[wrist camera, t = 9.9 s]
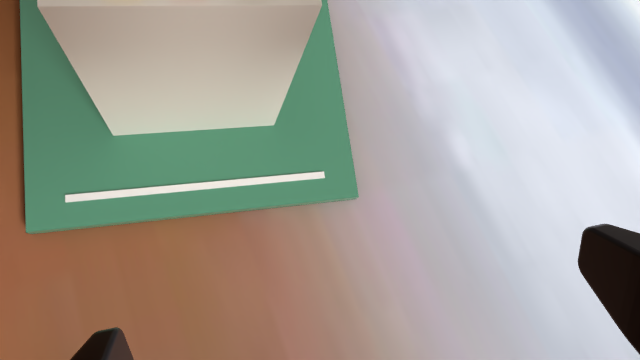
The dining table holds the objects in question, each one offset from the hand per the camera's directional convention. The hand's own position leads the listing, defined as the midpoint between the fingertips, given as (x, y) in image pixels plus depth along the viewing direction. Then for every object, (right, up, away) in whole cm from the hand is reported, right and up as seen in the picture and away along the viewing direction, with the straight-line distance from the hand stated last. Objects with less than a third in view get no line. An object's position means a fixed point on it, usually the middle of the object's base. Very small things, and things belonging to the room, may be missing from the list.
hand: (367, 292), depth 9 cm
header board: (-7, +6, +14) cm, 17 cm away
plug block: (-7, +7, +13) cm, 16 cm away
